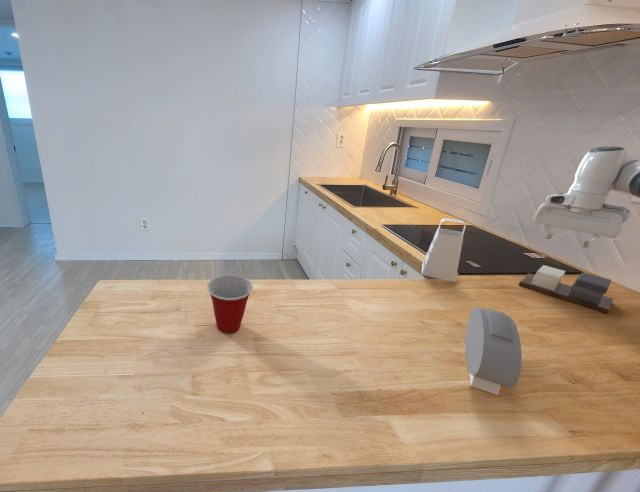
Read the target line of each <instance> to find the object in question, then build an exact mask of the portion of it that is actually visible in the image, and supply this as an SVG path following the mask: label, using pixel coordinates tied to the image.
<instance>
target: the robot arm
mask: <svg viewBox="0 0 640 492" xmlns="http://www.w3.org/2000/svg"><path fill="white" fill-rule="evenodd" d="M580 161H581V162H580V163H579V165H578V168H577V170H576V172H575V174H574V181H573V183H572V185H571V186H570V187H569V189H568V191H567V192H560V193H551V194H549V195H547V196H546V199H545V202H543V203H542V204H540V206H539V207H538V209H537V210H536V212H535V214H534V215H533V216H534V217H533V219H532V220H533V222H534V223H535V224H541V225H544V228H543V229H544V232H545V235H544V239H547V240H551V239H552V238H553V235H554V233H551V231H550V229H551V228H552V227H554V228H555V227H556V228H560V229H565V230H570V231H575V232H581V233H585V234H590V235H592V239H590V240H585V241H584V242H583V244H582V247H583V248H587V249H589V248H590V247H591V245H592V244H593V243H594V242H596V241H598V240H599V239H600V237H605V238H610V239H615V238H616V237H618V236H619V235H620V232H621V230H622V228H623V227H622V226H623V223H626V222H627V221H628V220H629V219H630V216H631V211H630V210H629V209H628V208H626V207H625V206H621V205H620V206H619V205H618V206H617V205H613V204H607V203H606V202H607V200H608V197H609V195H610V193H611V191H612V192H616V193H621V194H624V195H628V196H633V197H636V198H638V199H640V159H639V158H636V157H633V156H632V155H631V154H629V153H628V152H627V150H626V148H624V147H622V146H599V147H595V148H591V149H590V150H589V151H587V153H586V154H585V155H584V156H583V158H582V160H580Z"/></svg>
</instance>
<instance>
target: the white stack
mask: <svg viewBox="0 0 640 492" xmlns="http://www.w3.org/2000/svg"><path fill="white" fill-rule="evenodd" d="M560 283H562V279H561V280H560V281H559V282H555V281H552V280H549V279H545V278H542V277H539V276H534V278H533V282H532V284H534V285H537V286H540V287H543V288H546V289H549V290H553V291H555V289H556V288H557V287H558V285H559V284H560Z"/></svg>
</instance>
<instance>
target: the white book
mask: <svg viewBox="0 0 640 492" xmlns="http://www.w3.org/2000/svg"><path fill="white" fill-rule="evenodd" d="M565 274H566V270H563V269H560V268H556V267H552V266H550V265H549V266H548V265H546V264H545V265H544V264H542V265H541V267H540V268H539V269H538V270H536V272H535V274H534V275H535V276H539V277H542V278H545V279H549V280H552V281H555V282H559V281H560V280H561V281H562V278H563V277H564V275H565Z"/></svg>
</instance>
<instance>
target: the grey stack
mask: <svg viewBox="0 0 640 492" xmlns="http://www.w3.org/2000/svg"><path fill="white" fill-rule="evenodd" d="M611 284H612V279H610V278H605V277H602V276H599V275H595V274H592V273H587V272H583V271H581V273H580V274H579V276H576V279H575V280H574V282H573V283H572V285H571V286H572V287H571V289H570V290H571V291H570V293H569V295H568V296H571V297H574V298H577V299H581V300H584V301H587V302H590V303H593V304H596V305H599V303H600V301H601V299H602V297H603V296H604V295H606V293H607V292H608V290H609V288H610V285H611Z"/></svg>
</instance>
